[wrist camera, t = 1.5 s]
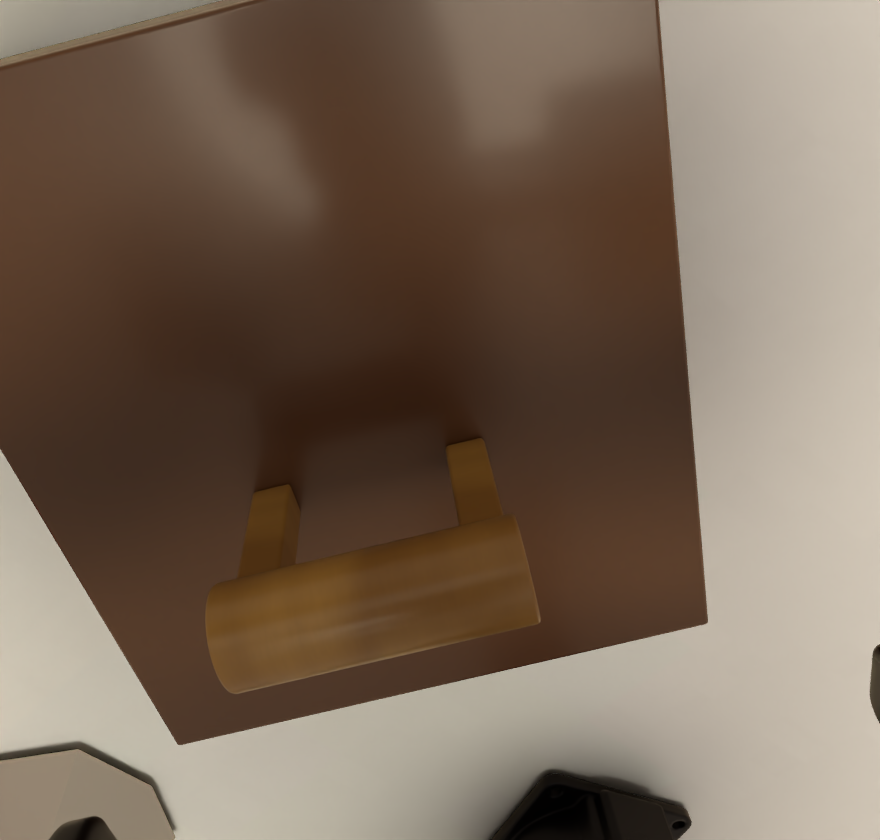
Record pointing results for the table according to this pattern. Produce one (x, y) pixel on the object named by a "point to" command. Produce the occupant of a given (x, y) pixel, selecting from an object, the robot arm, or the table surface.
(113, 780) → the flask
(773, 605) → the table surface
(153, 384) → the lid
